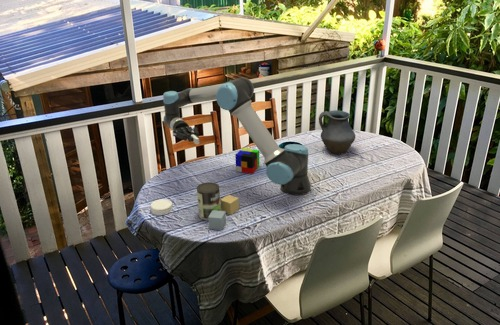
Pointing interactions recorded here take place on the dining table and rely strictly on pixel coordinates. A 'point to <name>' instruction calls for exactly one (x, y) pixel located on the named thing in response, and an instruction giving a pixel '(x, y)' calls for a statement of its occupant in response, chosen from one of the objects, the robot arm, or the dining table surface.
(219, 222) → the slate block
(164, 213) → the cream disc
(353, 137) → the pitcher
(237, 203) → the ochre block
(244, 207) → the dining table surface
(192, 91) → the robot arm
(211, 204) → the coffee can
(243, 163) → the puzzle toy
